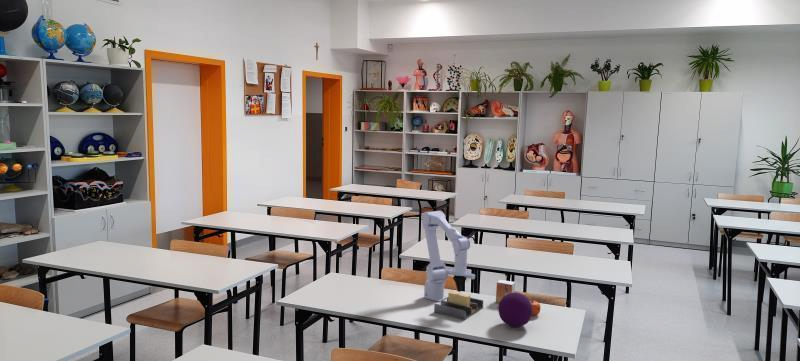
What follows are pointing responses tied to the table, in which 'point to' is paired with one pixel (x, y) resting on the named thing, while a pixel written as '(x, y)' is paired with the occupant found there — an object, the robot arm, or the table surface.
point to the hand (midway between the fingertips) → (459, 291)
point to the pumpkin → (535, 307)
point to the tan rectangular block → (459, 298)
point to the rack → (458, 308)
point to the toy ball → (515, 309)
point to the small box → (504, 289)
